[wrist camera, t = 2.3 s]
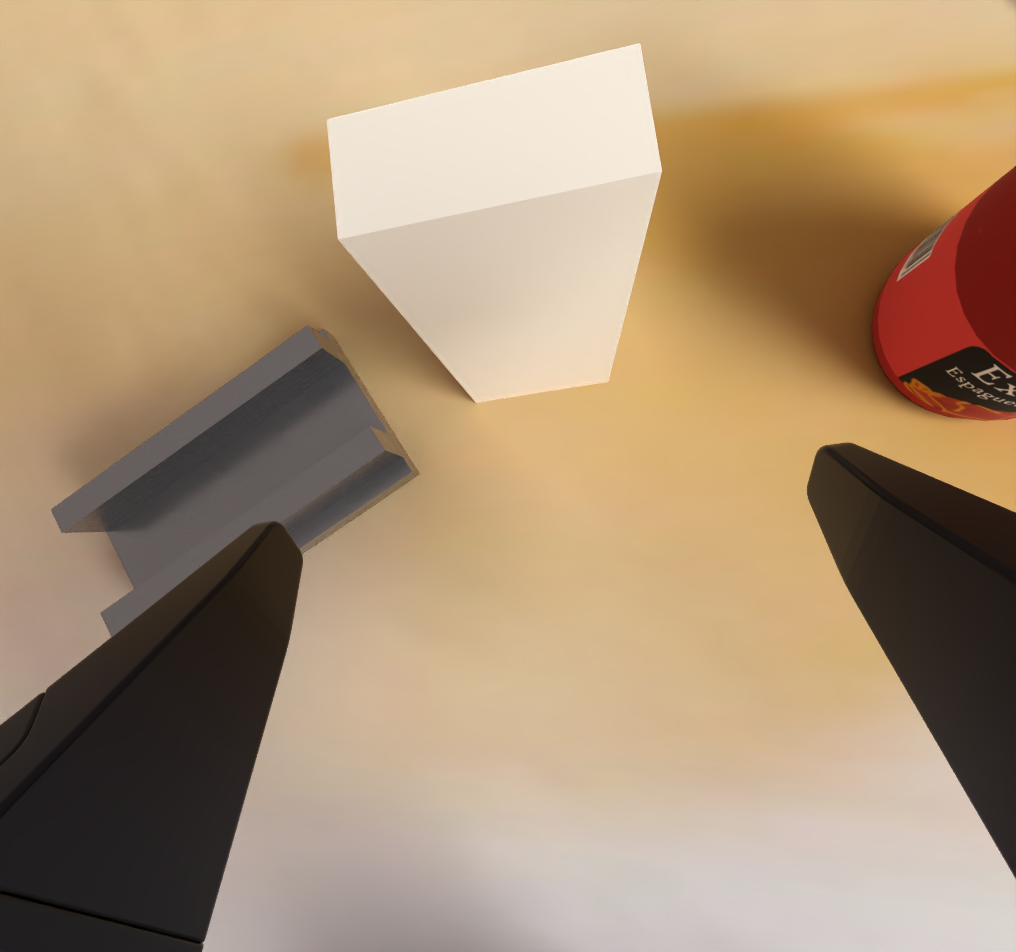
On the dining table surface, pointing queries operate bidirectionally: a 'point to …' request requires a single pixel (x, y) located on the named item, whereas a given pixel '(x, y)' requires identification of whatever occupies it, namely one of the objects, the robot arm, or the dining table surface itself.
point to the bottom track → (243, 470)
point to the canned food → (956, 313)
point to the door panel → (507, 217)
